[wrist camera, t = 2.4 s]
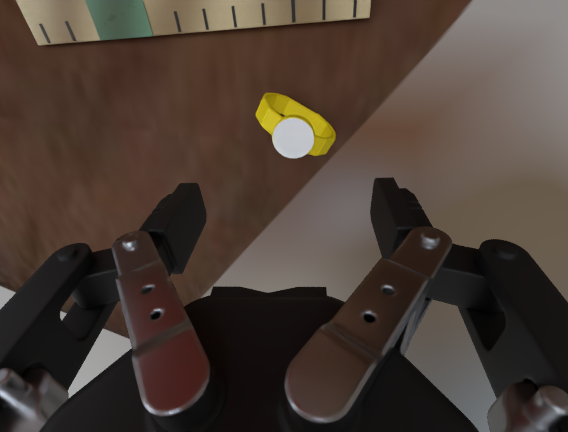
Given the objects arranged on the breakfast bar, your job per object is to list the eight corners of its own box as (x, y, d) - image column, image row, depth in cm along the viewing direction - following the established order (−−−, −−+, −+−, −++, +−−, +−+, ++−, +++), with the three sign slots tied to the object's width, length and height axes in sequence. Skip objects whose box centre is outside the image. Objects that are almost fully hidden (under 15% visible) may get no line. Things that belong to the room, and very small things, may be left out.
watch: (339, 114, 24) (346, 143, 19) (321, 143, 25) (323, 177, 20) (272, 76, 22) (262, 97, 17) (257, 109, 24) (244, 137, 19)
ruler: (373, -42, 18) (374, -43, 17) (368, 17, 20) (369, 17, 19) (18, -5, 20) (12, -5, 20) (43, 44, 22) (37, 45, 21)
